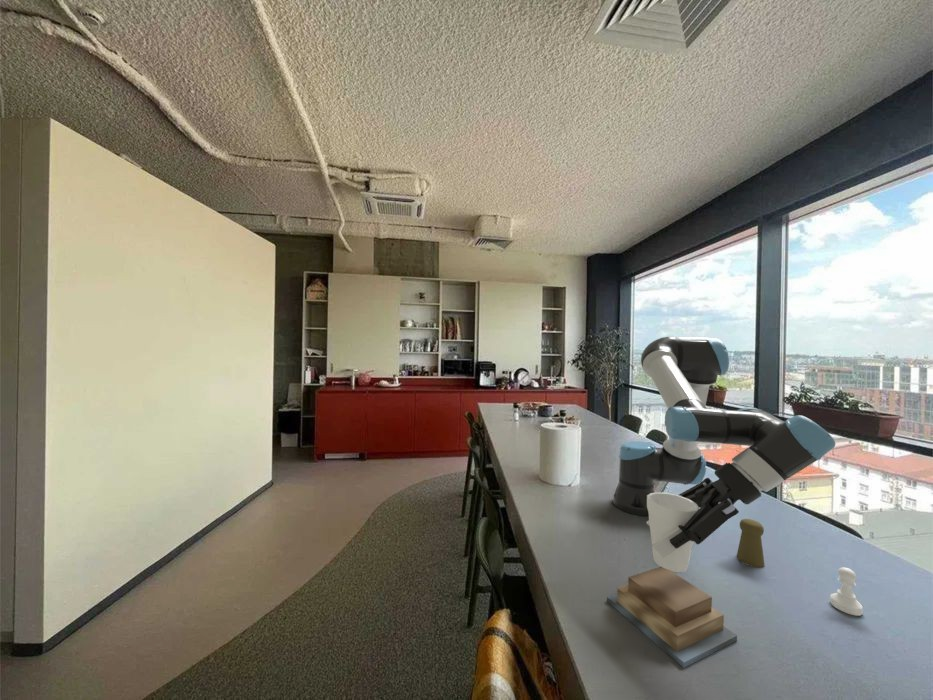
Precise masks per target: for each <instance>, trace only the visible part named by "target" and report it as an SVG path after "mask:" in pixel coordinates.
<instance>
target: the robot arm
mask: <svg viewBox="0 0 933 700" xmlns="http://www.w3.org/2000/svg"><path fill="white" fill-rule="evenodd" d="M729 359H730V356H729V353H728V349H727V347H726V345H725V343H724V342H723V341H722V340H721V339H719V338H716V337H714V338H713V337H706V336H703V337H702V336H701V337H700V336H698V337H697V336H693V337H692V336H688V337H687V336H685V337H684V336H665V337H660V338H657V339H655V340H653V341H652V342H650V343H649V344H647V346H646V347H645V348H644V350H643V351H642V353H641V357H640V363H641V367H642V370H643V371H644V373H645V374H646V375H647V376H649V377H650V378H651V379H652V381H653V383H654V385H655V386H656V389H657V390H658V392H659V394H660V396H661V398H662V400H663V402H664V404H665V406H666V408H667V409H666V410H665V414H664V426H665V431H666V434H667V435H668V439H666V440H664V441H663V444H662V447H656V445H655V444H654V443H653V442H649V441H648V442H647V441H641V440H640V441H639V440H638V441H636V440H635V441H628V442H624V443H622V444H621V446H620V448H619V456H618V458H619V463H618V464H619V467H618V468H619V469H618V470H619V471H618V483H617V486H616V489H615V491H614V494H613V499H612V502H613V505H614V507H617V508H618V509H619V510H621V511H623V512H626V513H629V514H632V515H636V516H642V517H643V516H644V517H649V514H648V509H647V495H649V494H650V493H656V491H655V482H663V483H664V482H665V483H673V484H681V485H692V487H690V488H688V489H686V490H685V491H683V492H681V493H679V494H678V495H679V496H682V497H685V498H687V499H690V500H691V501H693V502H695V503H696V504H697V505H698V507H699V510H698V511H697V512H696V513H695V514H694V515H693V516H692V518H691V519H690V520H689V521H688V522H687V523H686V524H685V525H684V526H682V525H679V526H678V528H676V529H675V530H673V531H672V532H670V533H669V534H667V535H666V536H664V537H663V538H661V539H660V540H658V541H657V542H655V543H654V544H652V543H651V546H652V545H653V547H654V548H655V549H656V550H657V552H658V553H659V554H660V555H661V556H662V557H663V558H664V557H666V556H667V555H669V554H670V553H672V552H673V551H675V550H676V549H678V548H680V547H681V546H683V545H684V544H686V543H687V542H689V541H690V540H691V541H693V543H695V544H696V545H700V544H702V543H703V541H705V540H706V539H707V538H709V537H710V536H711V535H712V534H713V533H715V532H716V531H717V530H719V528H720V527H721V526H722V525H723V524H724V523H726V522H727V521H728V520H730V519H731V518H732V517H735V516H736V515H738V514H739V512H740V511H739V510H738V509H737V507H736V506H734V504H735V503H736V502H738V501H739V500H740V501H741V502H742V503H743V504H744V505H750V504H751V503H753V502H755V501H756V500H758V499H759V498H760V497H762V491H763V492H764V493H767V492H769V491H770V490H772V489H774V488H779V487H780V486H781V485H780V484H781V483H784V481H786V480H788V479H790V478H791V477H793V476H795V475H796V474H797V473H799V472H800V471H802V470H804V469H805V468H806V469H807V467H809V466H810V465H812V464H813V463H815V462H817V461H819V460H821V459H822V458H823V457H824V456H825V455H826V454H827V453H830V451H832V450H834V448H835V447H836V440H835V439H834V437H832V435H830V433H829V432H828V431H827V430H826V429H825V428H824V427H822V426H820V425H819V424H817V423H816V422H815V421H814V420H812V419H810V418H808V417H806V416H804V415H801V414H799V415H794V416H792V417H790V418H788V419H786V420H785V421H784V420H782V419H781V418H778V417H777V416H774V415H773V414H771V413H769V412H768V411H765V410H763V409H759V408H756V407H751V406H746V407H741V408H739V409H737V410H732V409H718V408H717V409H716V408H707V407H706V406H707V405H706V404H707V401H708V400H707V399H708V396H709V395H708V394H709V390H710V386H712V385H715V384H716V383H717V380H718V376H719V377H720V376H723V375H726V374H727V372H728V371H729V367H730V360H729ZM698 443H711V444H712V443H713V444H724V445H735V446H747V448H745V449H744V450H742V451H740V452H739V453H737V454H736V455H735V456H733V457H732V458H731V462H732V463H730V462H726V463H724V464H722V465H721V466H720V467H718V468H717V469H715V470H714V475H715V476H716V477H717V478H718V479H717V480H715V481H712V480H711V479H710V478H709V477H706V478H705V476H706V471H707V467H706V466H707V460H706V458H705V456H704V454H703V453H702V450H701V449H700V448H699V446H698V445H699V444H698ZM704 478H705V479H704ZM693 485H694V486H693ZM645 522H646V525H647V526H648V527H649V528H650V523H649V520H647V521H645Z"/></svg>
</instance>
